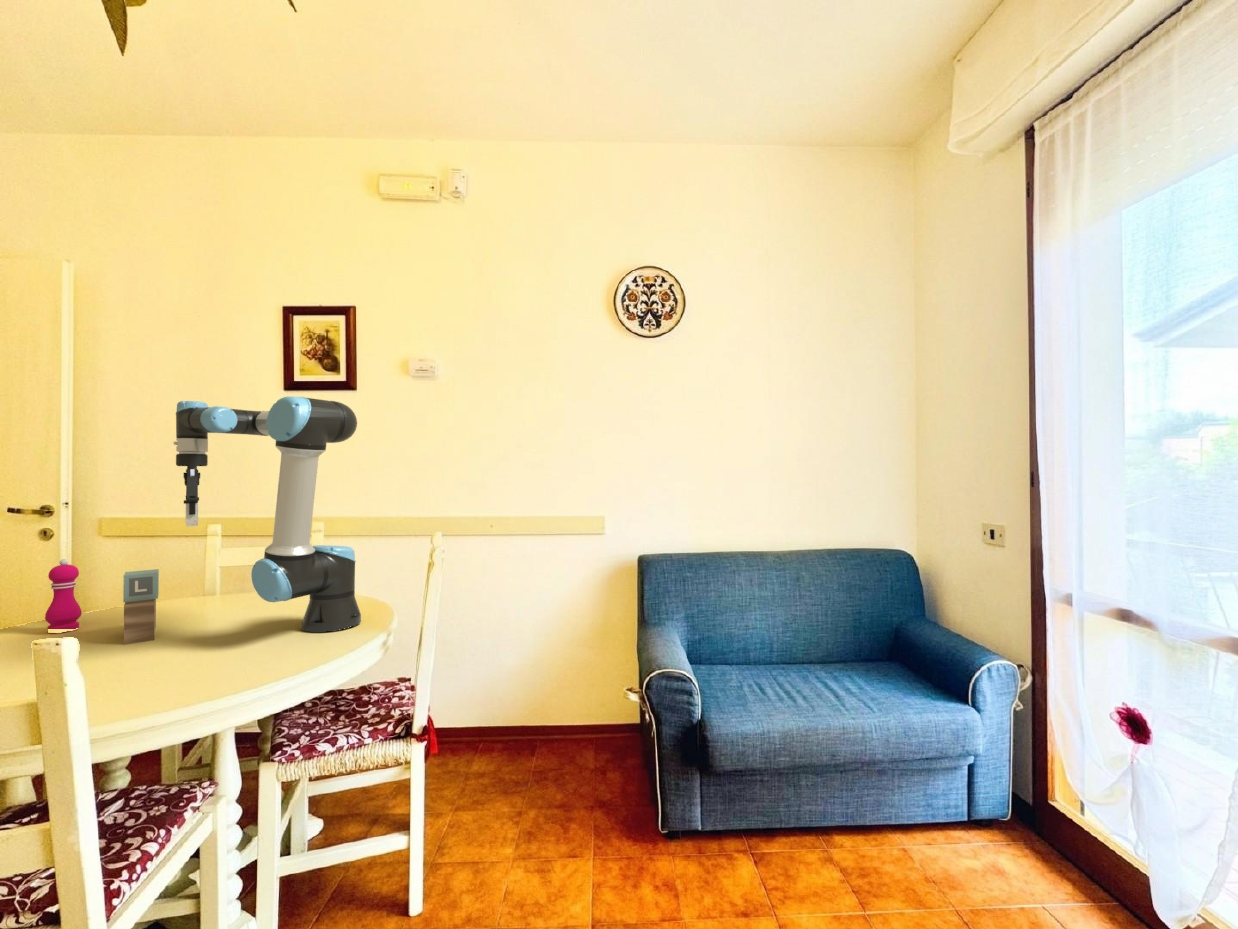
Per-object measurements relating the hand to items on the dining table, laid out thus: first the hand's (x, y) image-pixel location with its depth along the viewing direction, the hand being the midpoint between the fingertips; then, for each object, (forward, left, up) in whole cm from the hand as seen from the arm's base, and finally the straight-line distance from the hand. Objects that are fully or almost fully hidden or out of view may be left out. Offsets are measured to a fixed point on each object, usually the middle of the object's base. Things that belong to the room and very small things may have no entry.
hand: (191, 524), depth 165 cm
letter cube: (-10, +11, -19) cm, 24 cm away
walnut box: (-10, +11, -29) cm, 32 cm away
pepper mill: (+8, +28, -29) cm, 41 cm away
